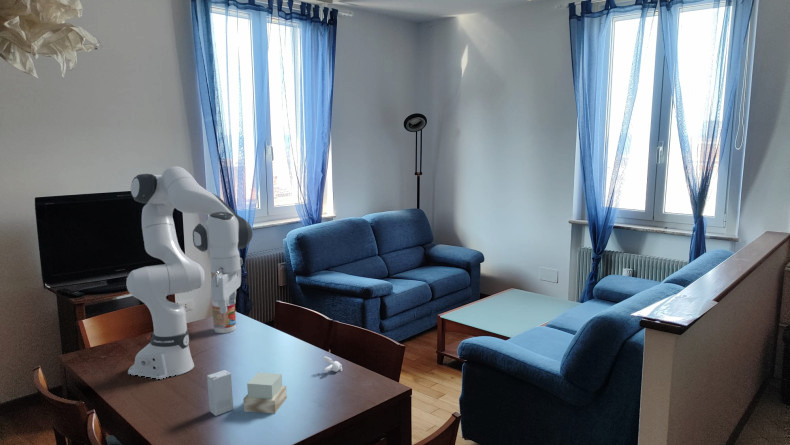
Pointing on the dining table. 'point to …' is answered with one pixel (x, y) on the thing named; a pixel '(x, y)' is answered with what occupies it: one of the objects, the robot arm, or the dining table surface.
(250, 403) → the birch base block
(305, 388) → the dining table surface
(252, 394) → the sage top block
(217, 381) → the skincare box
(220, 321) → the fruit juice
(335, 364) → the rabbit figurine
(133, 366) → the robot arm
